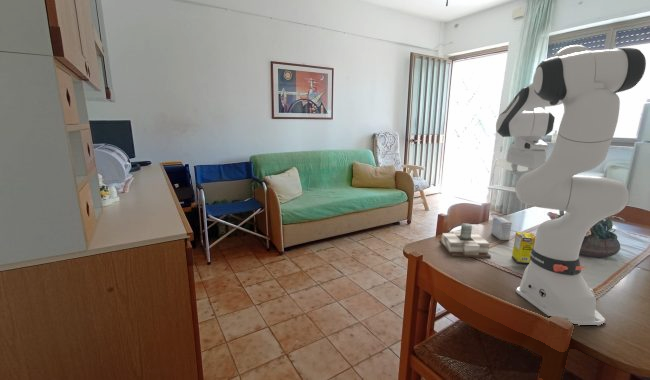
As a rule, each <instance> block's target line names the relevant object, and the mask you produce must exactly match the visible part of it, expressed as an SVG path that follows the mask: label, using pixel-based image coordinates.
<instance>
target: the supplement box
mask: <svg viewBox="0 0 650 380" xmlns="http://www.w3.org/2000/svg"><path fill="white" fill-rule="evenodd" d="M535 238H536V234H533V233H532V232H520V231H519V232H518V231H516V232H515V237H514V243H513V248H512V254H511V258H512V259H513V260H514V261H515V262H516V263H517V264H519V265H520V264H521V265H529V263H530V261H531V259H530V253H531V250H532V248H533V247H534V243H535Z"/></svg>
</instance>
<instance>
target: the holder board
mask: <svg viewBox="0 0 650 380" xmlns="http://www.w3.org/2000/svg"><path fill="white" fill-rule="evenodd" d="M441 234H442V235H441V238H440V239H439V242H440V243H441V245H442V246H443V247H444V248H445V249H446V250H447V251H448V253H449V254H450V256H451V257H452V258H477V257H485V258H484V259H486V258H487V259H491V257H492V256H491V254H490V253H489V251H490V243H489V242H488V241H487V240H486V239H485V238H483V237H482V236H481V234H479V233H471V239H470V241H461V240H460V234H461V230H460V231H458V230H457V231H456V230H455V231H454V230H453V231H452V230H451V232H442V233H441Z"/></svg>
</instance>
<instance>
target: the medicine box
mask: <svg viewBox="0 0 650 380" xmlns="http://www.w3.org/2000/svg"><path fill="white" fill-rule="evenodd" d="M512 224H513V223H512V222H511V221H510V220H508V219H506V218H504V217H501V216H495V217H493V219H492V226H491V235H493V236H494V237H496V238H497V239H498V240H500V241H510V237H511V230H512Z"/></svg>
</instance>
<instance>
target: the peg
mask: <svg viewBox="0 0 650 380" xmlns="http://www.w3.org/2000/svg"><path fill="white" fill-rule="evenodd" d="M472 229H473V224H471V223H467V222H463V223H461V227H460V231H461V234H460V240H461V241H470V239H471V234H472Z"/></svg>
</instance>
